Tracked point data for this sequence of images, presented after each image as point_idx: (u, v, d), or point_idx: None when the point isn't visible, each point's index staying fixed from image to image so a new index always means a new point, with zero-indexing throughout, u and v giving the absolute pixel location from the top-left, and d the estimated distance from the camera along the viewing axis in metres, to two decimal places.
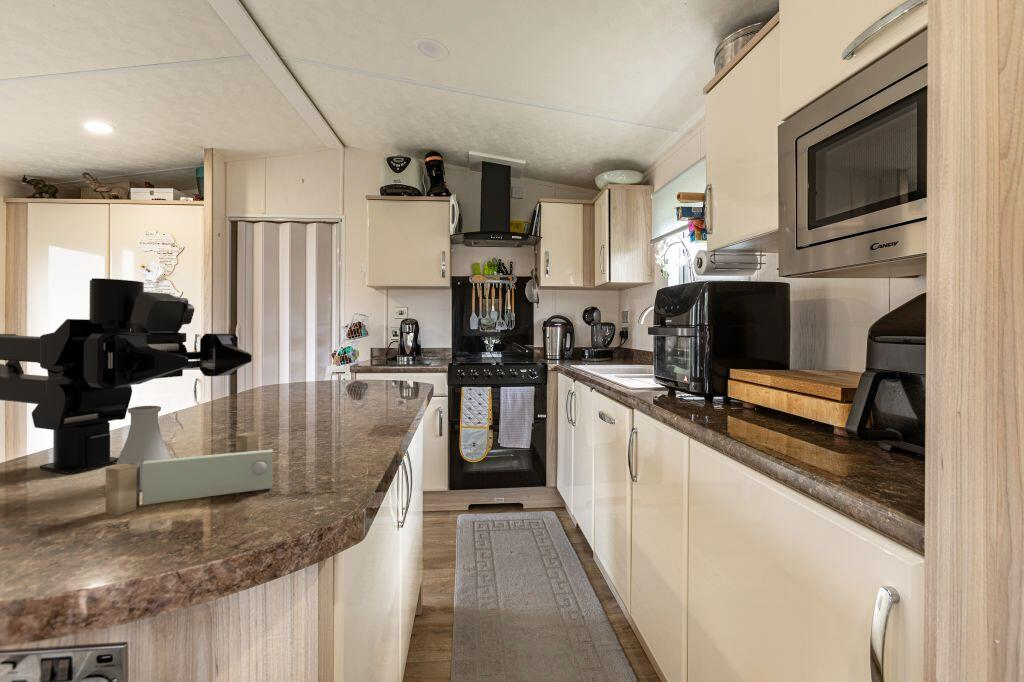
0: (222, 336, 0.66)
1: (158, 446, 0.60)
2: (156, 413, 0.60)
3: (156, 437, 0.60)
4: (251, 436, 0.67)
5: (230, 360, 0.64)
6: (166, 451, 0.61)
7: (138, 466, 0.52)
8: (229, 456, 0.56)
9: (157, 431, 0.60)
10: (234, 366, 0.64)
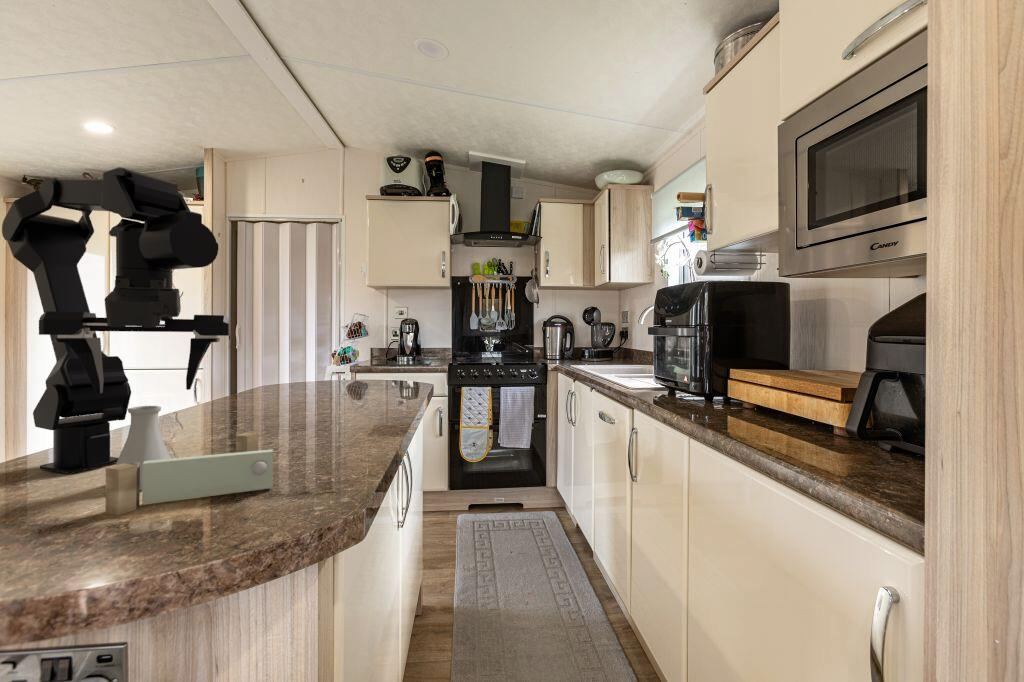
0: (198, 341, 0.60)
1: (158, 446, 0.60)
2: (156, 413, 0.60)
3: (156, 437, 0.60)
4: (251, 436, 0.67)
5: None
6: (166, 451, 0.61)
7: (138, 466, 0.52)
8: (229, 456, 0.56)
9: (157, 431, 0.60)
10: None
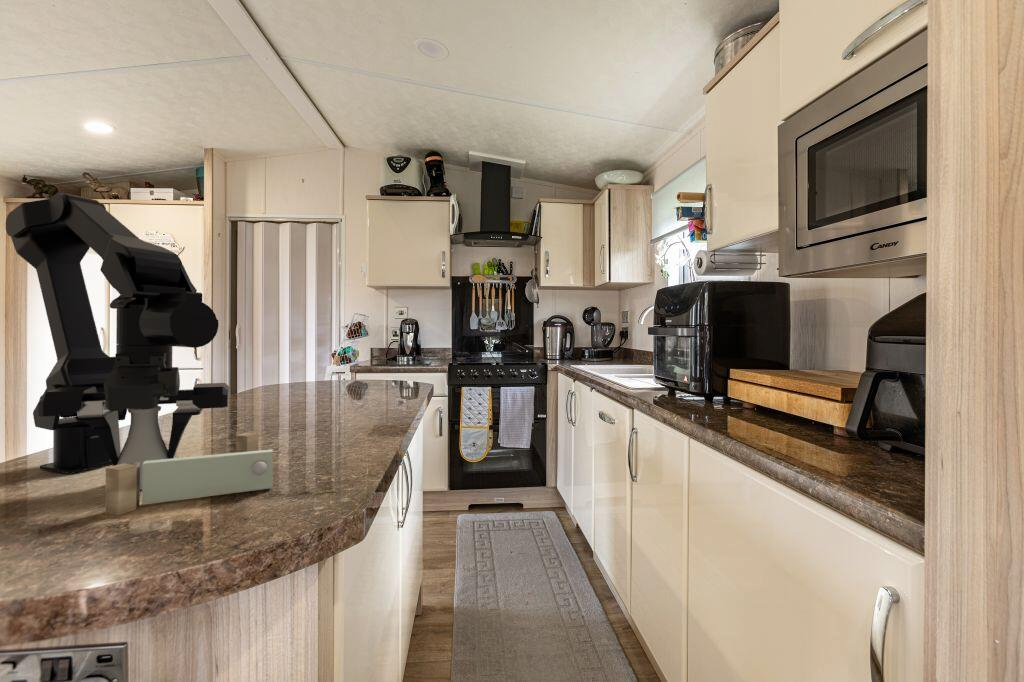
0: (180, 415, 0.59)
1: (158, 445, 0.60)
2: (156, 413, 0.60)
3: (156, 436, 0.60)
4: (251, 436, 0.67)
5: None
6: (166, 451, 0.61)
7: (138, 466, 0.52)
8: (229, 456, 0.56)
9: (157, 431, 0.60)
10: None
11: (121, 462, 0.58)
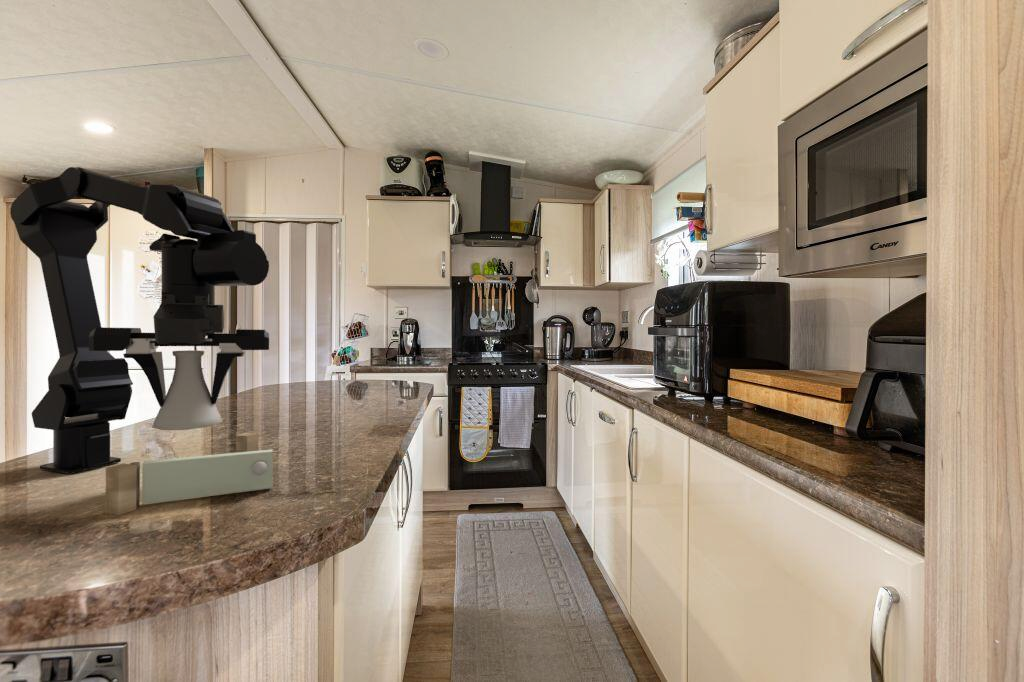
0: (224, 356, 0.60)
1: (202, 389, 0.60)
2: (199, 357, 0.61)
3: (200, 380, 0.60)
4: (251, 436, 0.67)
5: None
6: (209, 395, 0.61)
7: (138, 466, 0.52)
8: (229, 456, 0.56)
9: (201, 375, 0.61)
10: None
11: (167, 404, 0.58)
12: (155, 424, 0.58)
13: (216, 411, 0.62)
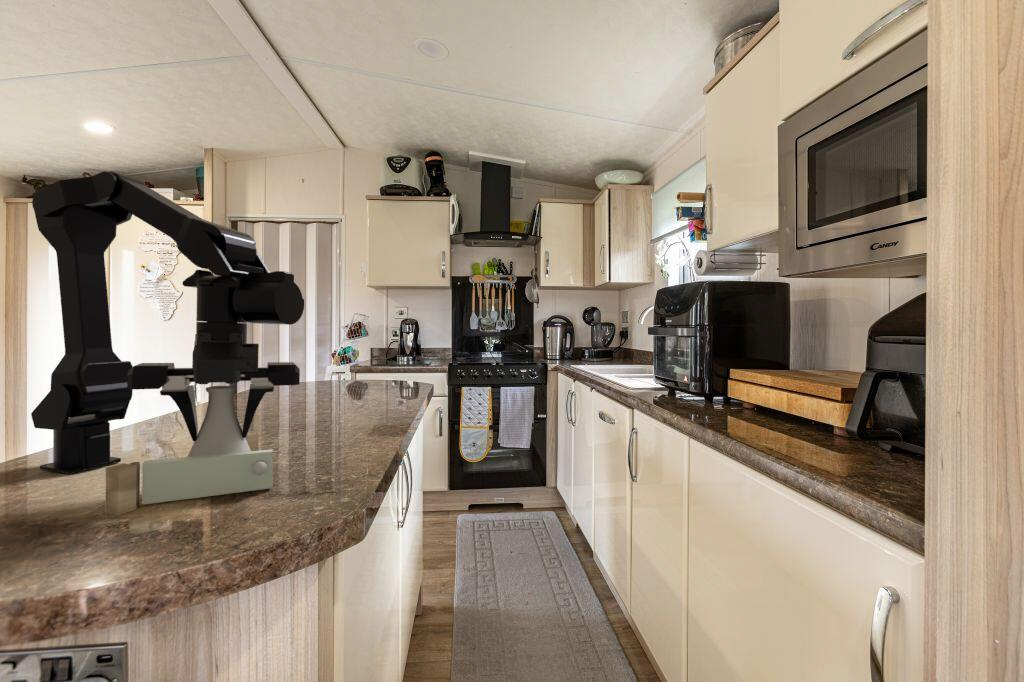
0: (256, 391, 0.61)
1: (234, 424, 0.61)
2: (232, 392, 0.62)
3: (232, 416, 0.61)
4: (251, 436, 0.67)
5: None
6: (240, 430, 0.62)
7: (138, 466, 0.52)
8: (229, 456, 0.56)
9: (233, 410, 0.62)
10: None
11: (200, 440, 0.59)
12: None
13: (247, 445, 0.63)
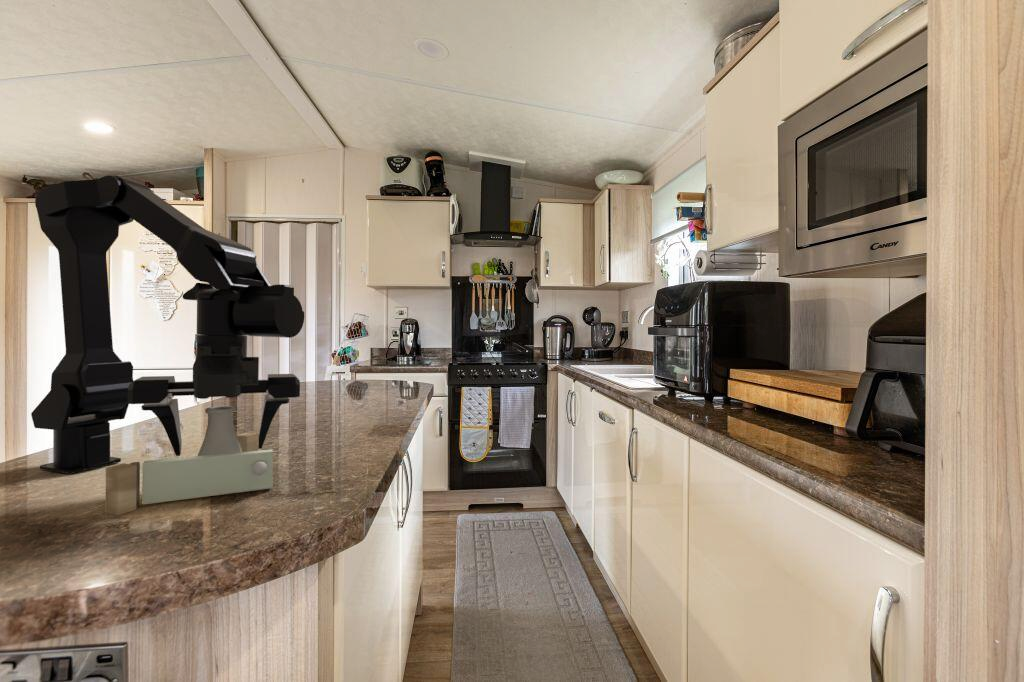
0: (272, 403, 0.62)
1: (234, 445, 0.61)
2: (231, 413, 0.62)
3: (232, 436, 0.61)
4: (251, 436, 0.67)
5: (261, 421, 0.64)
6: (240, 450, 0.63)
7: (138, 466, 0.52)
8: (229, 456, 0.56)
9: (232, 430, 0.62)
10: (260, 426, 0.65)
11: None
12: None
13: None
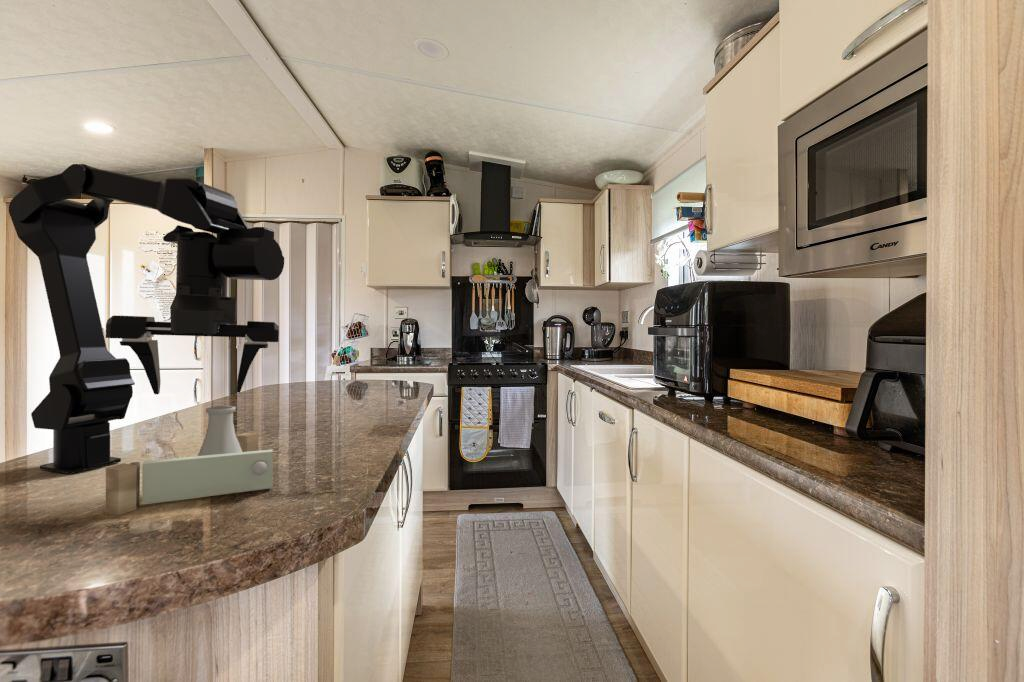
0: (250, 347, 0.63)
1: (234, 445, 0.61)
2: (232, 413, 0.62)
3: (232, 436, 0.61)
4: (251, 436, 0.67)
5: None
6: (240, 450, 0.63)
7: (138, 466, 0.52)
8: (229, 456, 0.56)
9: (233, 430, 0.62)
10: None
11: None
12: None
13: None
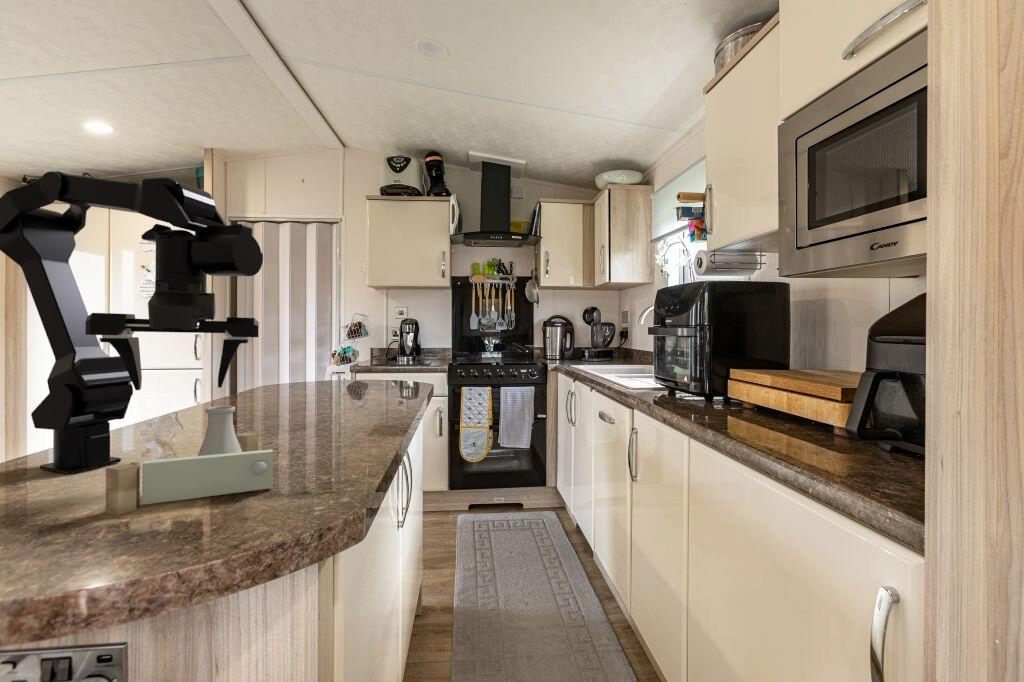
0: (230, 342, 0.64)
1: (234, 445, 0.61)
2: (231, 413, 0.62)
3: (232, 436, 0.61)
4: (251, 436, 0.67)
5: None
6: (240, 450, 0.63)
7: (138, 466, 0.52)
8: (229, 456, 0.56)
9: (232, 430, 0.62)
10: None
11: None
12: None
13: None
